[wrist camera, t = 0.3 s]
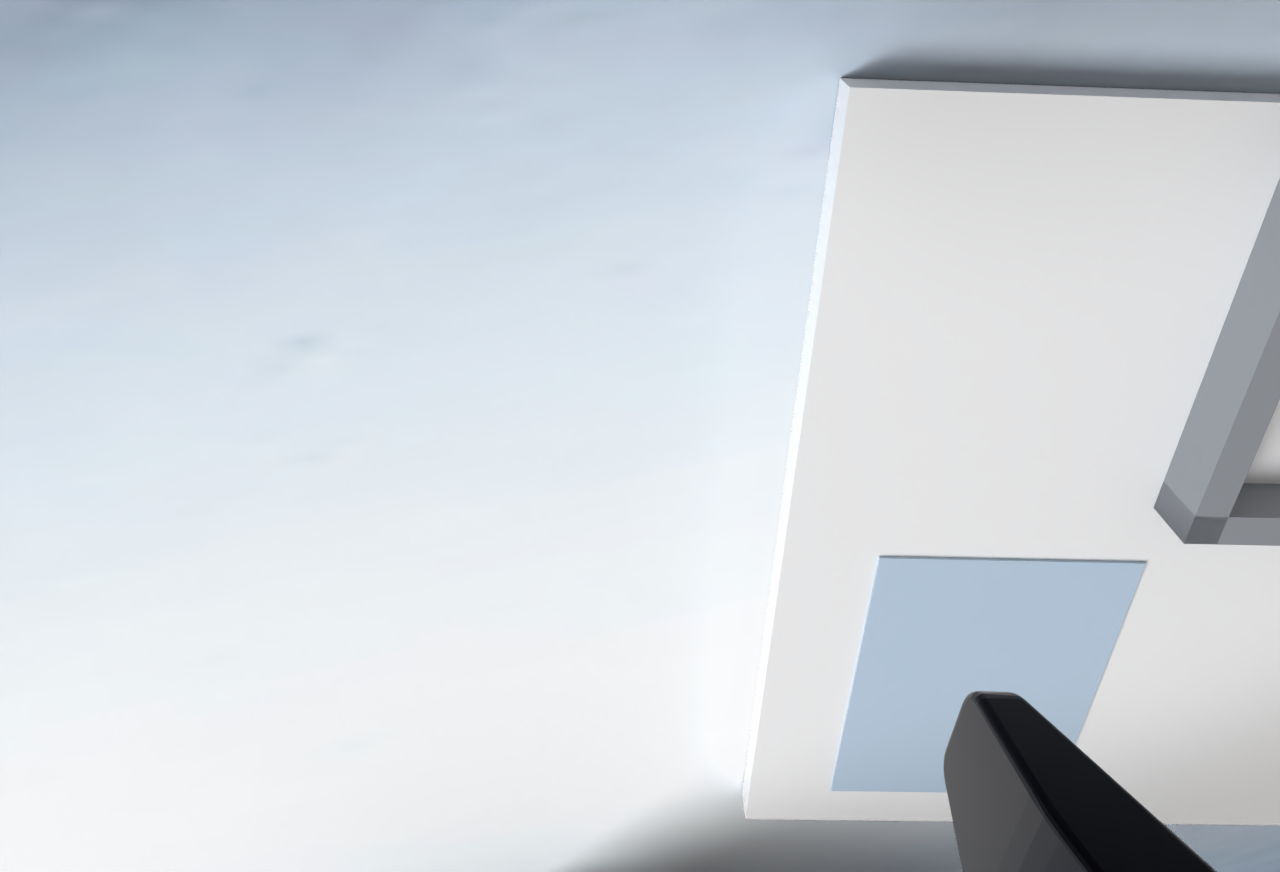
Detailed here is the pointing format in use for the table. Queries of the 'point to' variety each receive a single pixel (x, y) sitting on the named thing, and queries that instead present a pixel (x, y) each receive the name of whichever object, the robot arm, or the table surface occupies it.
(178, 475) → the table surface
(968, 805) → the robot arm
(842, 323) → the base plate
